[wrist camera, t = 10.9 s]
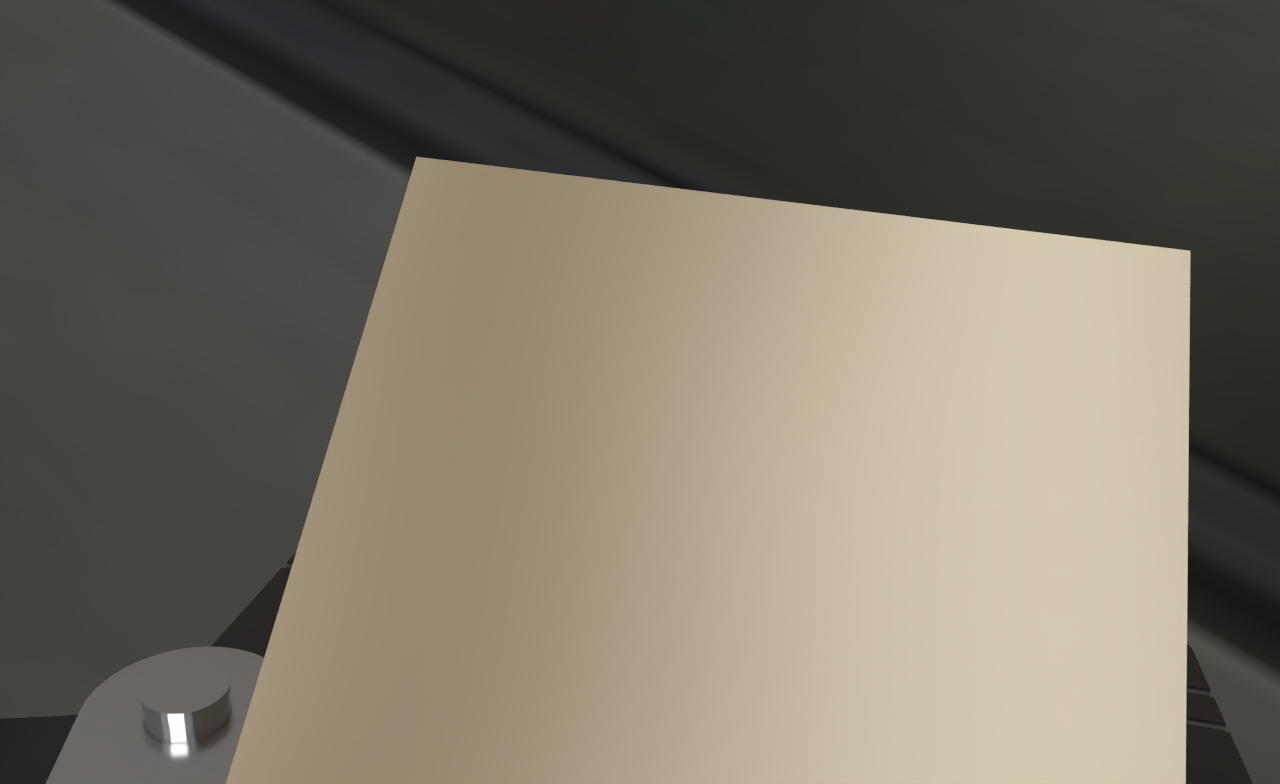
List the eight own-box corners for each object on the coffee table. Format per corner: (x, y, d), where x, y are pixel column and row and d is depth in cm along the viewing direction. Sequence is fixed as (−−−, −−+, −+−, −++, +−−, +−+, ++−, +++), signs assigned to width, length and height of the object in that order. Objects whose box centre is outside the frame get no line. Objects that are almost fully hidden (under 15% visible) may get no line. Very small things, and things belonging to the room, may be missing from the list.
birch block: (918, 612, 16) (1191, 251, 6) (883, 982, 14) (1182, 1198, 5) (591, 558, 16) (416, 156, 7) (519, 905, 15) (169, 969, 5)
